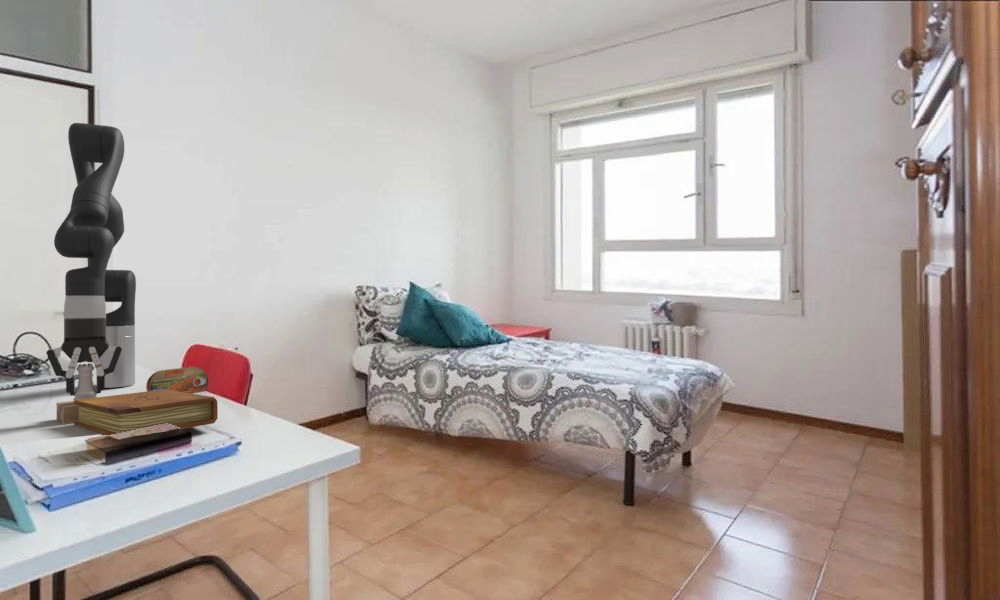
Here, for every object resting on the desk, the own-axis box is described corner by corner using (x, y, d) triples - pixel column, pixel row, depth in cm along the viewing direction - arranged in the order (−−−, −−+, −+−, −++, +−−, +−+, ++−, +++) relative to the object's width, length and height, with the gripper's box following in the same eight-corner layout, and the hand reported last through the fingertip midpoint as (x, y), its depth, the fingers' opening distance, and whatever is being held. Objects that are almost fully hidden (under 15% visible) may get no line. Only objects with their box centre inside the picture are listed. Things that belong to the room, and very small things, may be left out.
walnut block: (56, 420, 125) (56, 402, 125) (99, 415, 131) (99, 398, 131) (63, 425, 120) (63, 407, 120) (108, 420, 126) (108, 401, 126)
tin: (149, 404, 144) (149, 371, 144) (144, 402, 146) (144, 370, 146) (209, 396, 157) (209, 365, 157) (203, 395, 158) (203, 365, 158)
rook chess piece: (84, 402, 123) (84, 365, 123) (67, 401, 123) (67, 365, 123) (102, 399, 127) (102, 363, 127) (86, 398, 128) (86, 363, 128)
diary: (217, 423, 121) (217, 396, 121) (118, 441, 106) (118, 410, 106) (168, 412, 135) (168, 388, 135) (74, 426, 120) (74, 399, 120)
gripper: (124, 315, 132) (124, 389, 132) (46, 316, 125) (46, 394, 124) (123, 316, 126) (124, 393, 126) (42, 317, 118) (42, 399, 118)
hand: (85, 393), depth 125 cm, fingers closed on rook chess piece, 4 cm apart
